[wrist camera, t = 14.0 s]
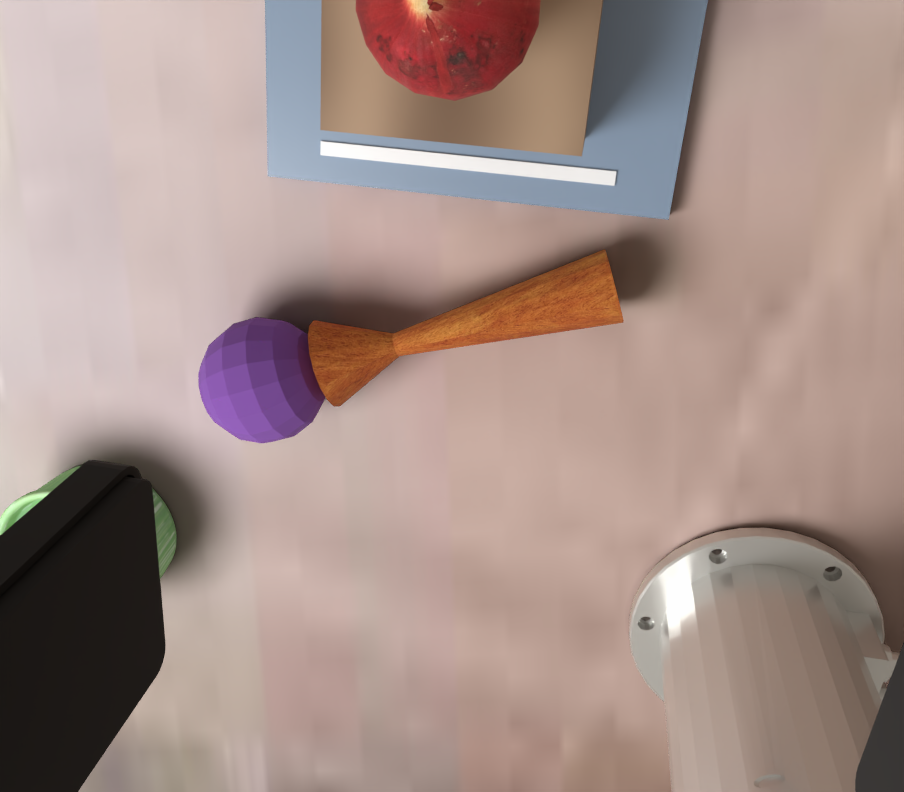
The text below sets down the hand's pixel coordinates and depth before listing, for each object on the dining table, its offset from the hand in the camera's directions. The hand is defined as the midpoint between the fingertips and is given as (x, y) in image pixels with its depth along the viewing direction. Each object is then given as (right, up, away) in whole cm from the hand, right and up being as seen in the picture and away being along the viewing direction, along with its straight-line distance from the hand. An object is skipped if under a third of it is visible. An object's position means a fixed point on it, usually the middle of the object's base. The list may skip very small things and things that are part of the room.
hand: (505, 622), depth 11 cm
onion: (0, +17, +20) cm, 26 cm away
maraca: (-2, +6, +32) cm, 33 cm away
